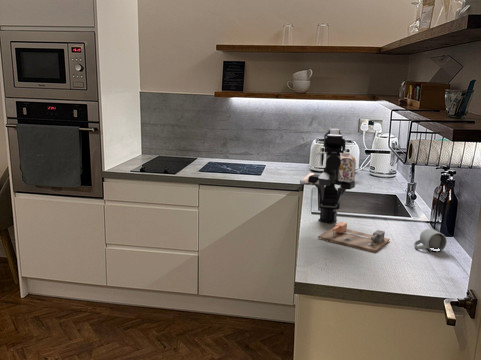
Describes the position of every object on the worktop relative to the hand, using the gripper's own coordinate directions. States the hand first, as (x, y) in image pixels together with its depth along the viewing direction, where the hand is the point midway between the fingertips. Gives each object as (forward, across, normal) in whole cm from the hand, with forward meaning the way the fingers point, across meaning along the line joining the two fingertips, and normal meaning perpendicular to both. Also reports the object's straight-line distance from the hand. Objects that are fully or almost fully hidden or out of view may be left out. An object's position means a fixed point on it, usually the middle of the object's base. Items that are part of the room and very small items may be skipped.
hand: (329, 201), depth 201 cm
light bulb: (+13, -46, +73) cm, 87 cm away
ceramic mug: (+13, +40, +6) cm, 42 cm away
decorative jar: (+13, -32, +93) cm, 100 cm away
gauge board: (+13, +13, -3) cm, 19 cm away
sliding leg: (+12, +6, -3) cm, 13 cm away
